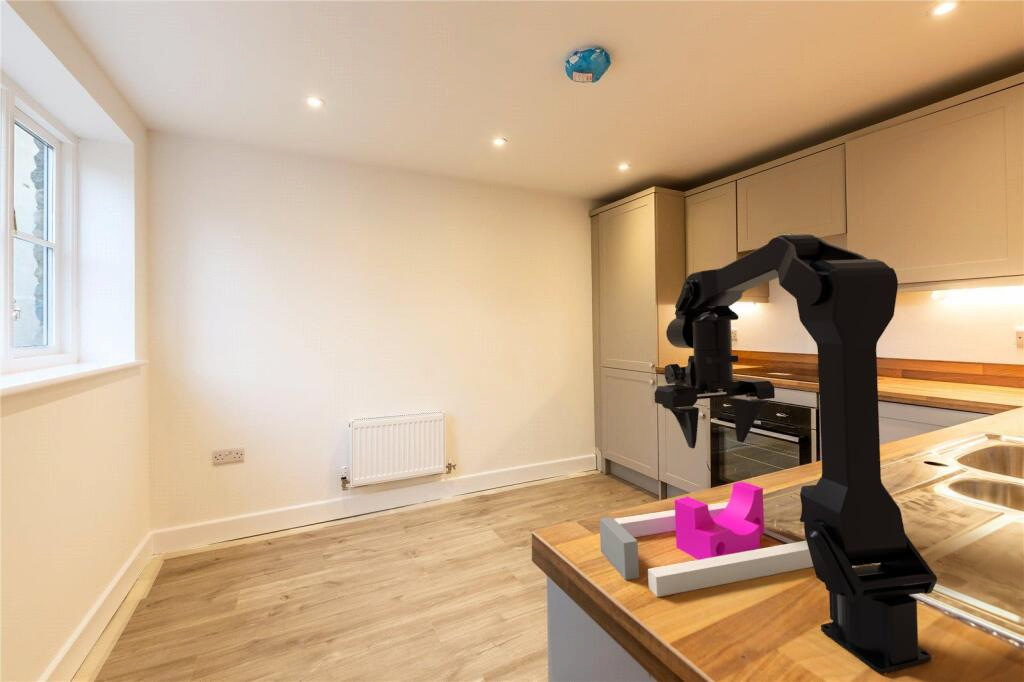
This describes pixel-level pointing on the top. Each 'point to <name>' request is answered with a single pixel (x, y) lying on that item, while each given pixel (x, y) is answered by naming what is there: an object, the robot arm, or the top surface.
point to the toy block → (721, 524)
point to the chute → (696, 573)
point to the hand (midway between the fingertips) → (716, 444)
